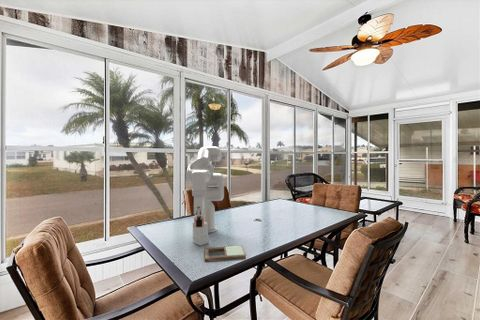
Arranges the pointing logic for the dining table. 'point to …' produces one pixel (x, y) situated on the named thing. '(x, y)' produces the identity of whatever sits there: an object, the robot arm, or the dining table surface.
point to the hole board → (219, 252)
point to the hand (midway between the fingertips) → (199, 224)
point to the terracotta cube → (202, 221)
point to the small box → (200, 235)
